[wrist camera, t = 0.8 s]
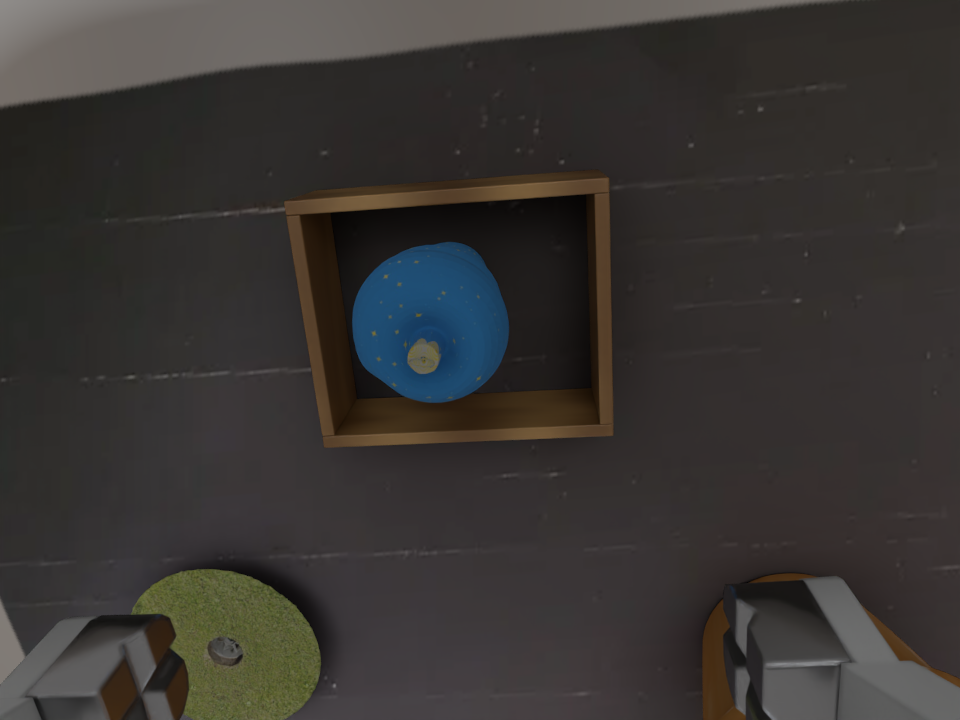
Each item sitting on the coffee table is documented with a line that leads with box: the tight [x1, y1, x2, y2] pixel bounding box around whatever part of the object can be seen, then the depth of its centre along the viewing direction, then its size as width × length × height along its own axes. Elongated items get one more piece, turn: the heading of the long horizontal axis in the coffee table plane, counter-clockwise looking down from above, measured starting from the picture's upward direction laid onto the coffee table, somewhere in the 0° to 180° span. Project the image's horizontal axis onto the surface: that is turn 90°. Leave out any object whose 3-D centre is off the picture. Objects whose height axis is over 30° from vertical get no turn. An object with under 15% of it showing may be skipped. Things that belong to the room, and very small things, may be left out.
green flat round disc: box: [131, 569, 321, 720], centre depth 41 cm, size 11×11×2 cm
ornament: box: [352, 242, 509, 403], centre depth 26 cm, size 5×5×15 cm
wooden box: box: [284, 170, 614, 448], centre depth 32 cm, size 13×11×4 cm
